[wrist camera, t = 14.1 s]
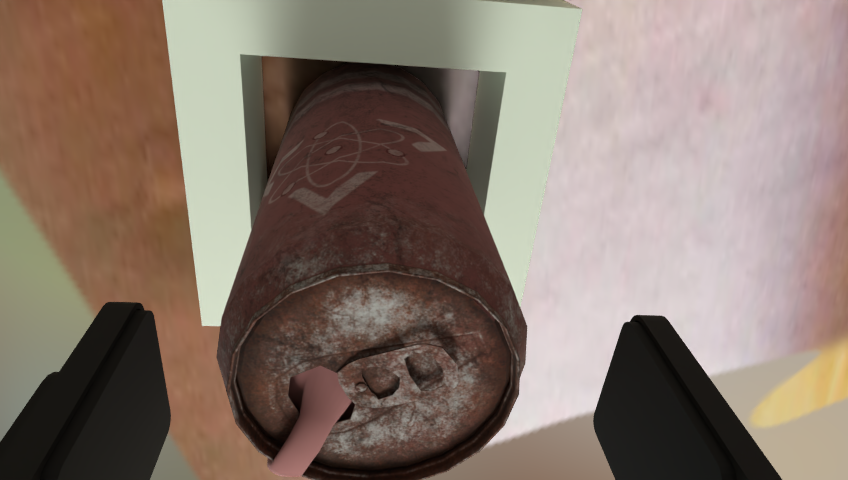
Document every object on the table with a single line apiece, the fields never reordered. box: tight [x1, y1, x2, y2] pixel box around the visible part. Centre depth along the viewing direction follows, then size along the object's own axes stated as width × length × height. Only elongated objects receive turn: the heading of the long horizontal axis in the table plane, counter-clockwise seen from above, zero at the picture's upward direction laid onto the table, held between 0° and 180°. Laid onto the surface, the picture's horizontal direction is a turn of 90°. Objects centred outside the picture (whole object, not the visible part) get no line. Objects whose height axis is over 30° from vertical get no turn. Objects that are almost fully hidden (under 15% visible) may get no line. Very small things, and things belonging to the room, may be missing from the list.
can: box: [217, 62, 527, 480], centre depth 17 cm, size 6×6×14 cm
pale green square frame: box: [162, 0, 582, 326], centre depth 21 cm, size 12×12×4 cm
